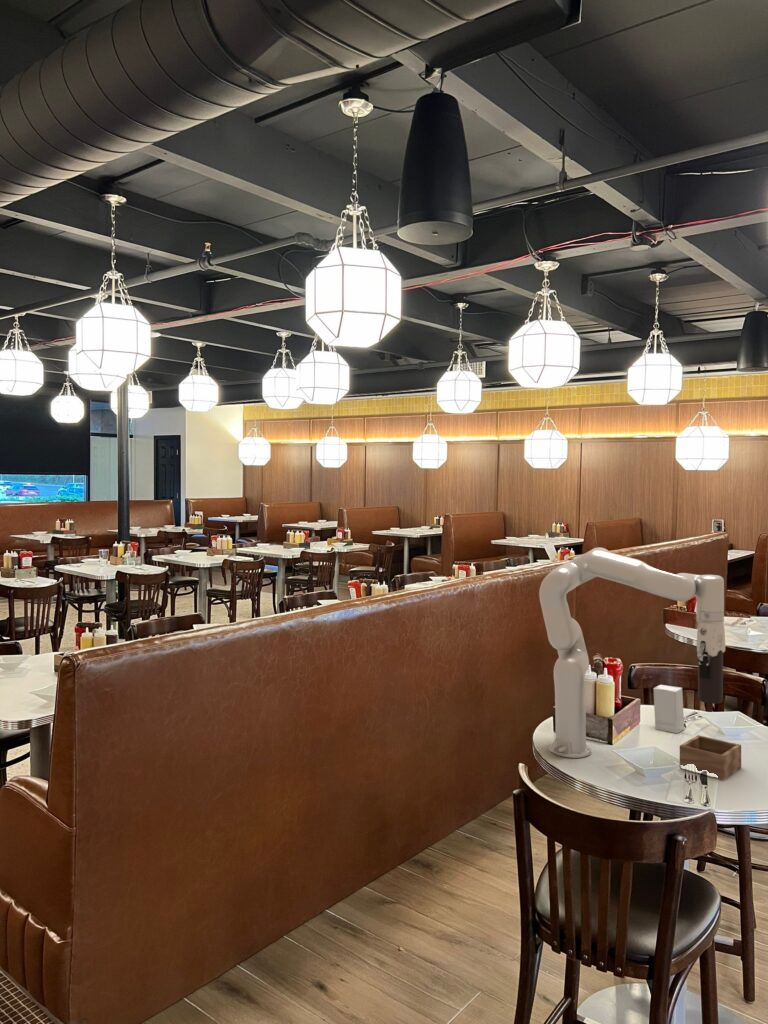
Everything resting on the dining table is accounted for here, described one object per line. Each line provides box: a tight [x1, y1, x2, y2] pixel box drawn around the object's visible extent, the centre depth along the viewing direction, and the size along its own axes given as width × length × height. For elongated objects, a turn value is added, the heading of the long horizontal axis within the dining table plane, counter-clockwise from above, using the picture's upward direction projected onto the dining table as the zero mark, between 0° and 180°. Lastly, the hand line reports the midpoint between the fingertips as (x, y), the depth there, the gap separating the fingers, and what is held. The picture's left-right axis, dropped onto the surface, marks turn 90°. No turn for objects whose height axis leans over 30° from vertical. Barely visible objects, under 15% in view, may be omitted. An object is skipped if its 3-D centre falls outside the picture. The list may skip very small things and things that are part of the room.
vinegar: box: [697, 650, 724, 705], centre depth 224 cm, size 7×7×20 cm
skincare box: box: [653, 684, 685, 734], centre depth 260 cm, size 8×6×15 cm
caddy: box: [679, 734, 742, 781], centre depth 224 cm, size 13×13×7 cm
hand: (710, 675), depth 224 cm, fingers closed on vinegar, 6 cm apart
